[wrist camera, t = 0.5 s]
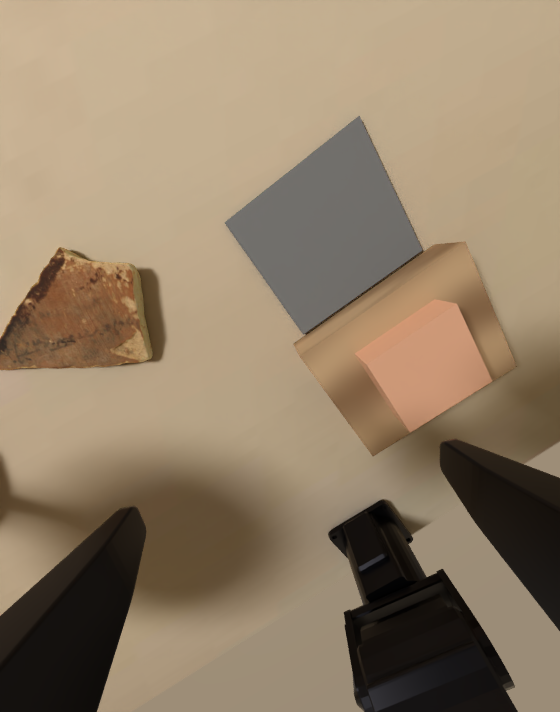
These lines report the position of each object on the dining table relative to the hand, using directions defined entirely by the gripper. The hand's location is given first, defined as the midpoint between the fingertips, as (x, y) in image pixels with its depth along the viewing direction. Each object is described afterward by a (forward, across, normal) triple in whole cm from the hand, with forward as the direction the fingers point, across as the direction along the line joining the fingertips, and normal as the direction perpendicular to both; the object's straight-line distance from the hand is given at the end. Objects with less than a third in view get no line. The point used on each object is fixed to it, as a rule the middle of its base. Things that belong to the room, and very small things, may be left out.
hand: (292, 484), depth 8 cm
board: (+13, -9, +2) cm, 16 cm away
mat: (+13, -5, -7) cm, 16 cm away
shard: (+14, +12, -4) cm, 19 cm away
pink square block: (+10, -9, +2) cm, 14 cm away
